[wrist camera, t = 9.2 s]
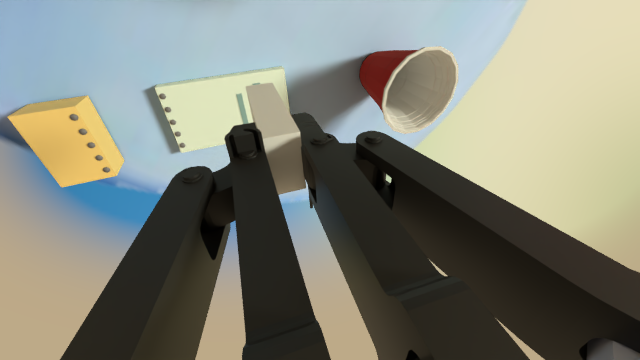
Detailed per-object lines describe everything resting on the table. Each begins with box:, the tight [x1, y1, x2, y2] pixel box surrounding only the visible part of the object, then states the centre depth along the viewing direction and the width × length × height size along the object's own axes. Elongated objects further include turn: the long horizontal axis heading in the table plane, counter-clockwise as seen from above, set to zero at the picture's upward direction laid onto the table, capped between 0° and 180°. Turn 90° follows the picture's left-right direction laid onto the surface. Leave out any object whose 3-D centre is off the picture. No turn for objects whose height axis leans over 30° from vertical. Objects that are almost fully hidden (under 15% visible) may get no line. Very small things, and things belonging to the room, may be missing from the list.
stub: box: [8, 96, 124, 187], centre depth 33 cm, size 9×6×4 cm, turn 5°
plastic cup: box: [359, 46, 458, 134], centre depth 38 cm, size 11×11×12 cm
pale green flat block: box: [155, 66, 290, 153], centre depth 38 cm, size 9×16×2 cm, turn 95°
